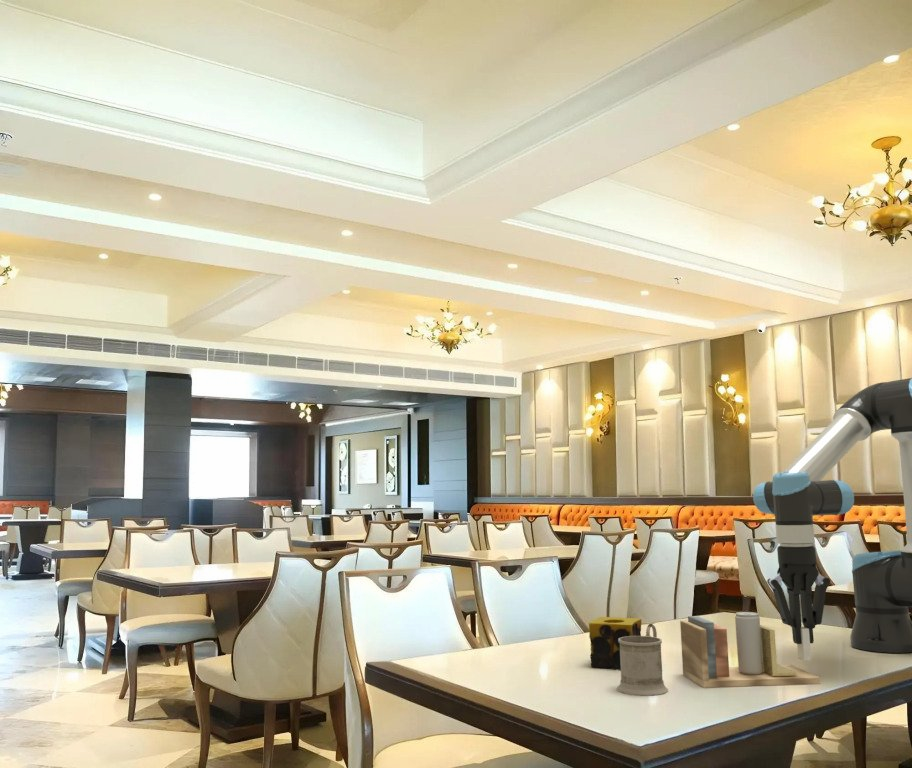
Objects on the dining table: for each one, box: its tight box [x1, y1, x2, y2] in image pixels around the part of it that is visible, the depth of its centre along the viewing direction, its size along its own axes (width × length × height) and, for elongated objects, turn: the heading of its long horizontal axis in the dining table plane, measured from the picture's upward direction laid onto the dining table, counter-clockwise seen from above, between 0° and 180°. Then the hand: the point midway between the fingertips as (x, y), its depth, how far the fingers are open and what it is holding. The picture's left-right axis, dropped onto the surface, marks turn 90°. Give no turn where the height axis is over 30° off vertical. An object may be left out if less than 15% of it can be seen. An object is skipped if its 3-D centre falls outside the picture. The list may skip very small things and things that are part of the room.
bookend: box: [760, 624, 797, 676], centre depth 171 cm, size 5×9×9 cm, turn 4°
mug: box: [616, 622, 669, 697], centre depth 165 cm, size 14×10×12 cm
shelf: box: [679, 615, 821, 689], centre depth 171 cm, size 24×12×12 cm, turn 94°
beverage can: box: [734, 611, 763, 675], centre depth 171 cm, size 5×5×12 cm
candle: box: [588, 616, 642, 671], centre depth 187 cm, size 10×10×10 cm
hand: (804, 659), depth 171 cm, fingers closed
